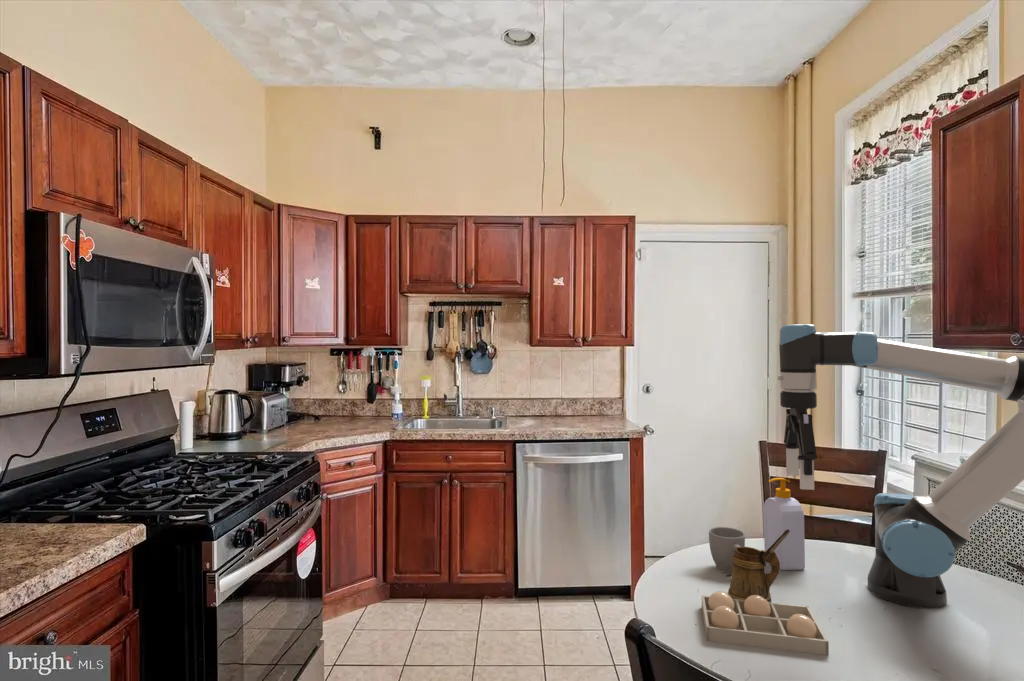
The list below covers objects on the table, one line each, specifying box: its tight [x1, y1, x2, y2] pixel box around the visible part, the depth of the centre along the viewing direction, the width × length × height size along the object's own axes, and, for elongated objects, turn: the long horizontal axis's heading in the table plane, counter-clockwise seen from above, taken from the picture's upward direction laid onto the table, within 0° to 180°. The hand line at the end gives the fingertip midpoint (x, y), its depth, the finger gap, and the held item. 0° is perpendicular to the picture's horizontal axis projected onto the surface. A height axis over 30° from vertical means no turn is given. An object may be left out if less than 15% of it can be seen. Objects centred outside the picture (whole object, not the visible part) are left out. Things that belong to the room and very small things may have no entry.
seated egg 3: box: [787, 614, 817, 639], centre depth 108 cm, size 5×5×5 cm
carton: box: [701, 595, 830, 656], centre depth 113 cm, size 22×14×3 cm
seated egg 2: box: [711, 606, 739, 630], centre depth 111 cm, size 5×5×5 cm
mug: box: [708, 526, 746, 574], centre depth 144 cm, size 12×9×10 cm
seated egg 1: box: [708, 590, 734, 611], centre depth 118 cm, size 5×5×5 cm
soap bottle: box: [763, 477, 806, 571], centre depth 148 cm, size 9×7×23 cm
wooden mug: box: [727, 529, 790, 603], centre depth 126 cm, size 9×14×18 cm, turn 49°
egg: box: [744, 595, 771, 617], centre depth 116 cm, size 5×5×5 cm
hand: (799, 482), depth 128 cm, fingers open, 13 cm apart
